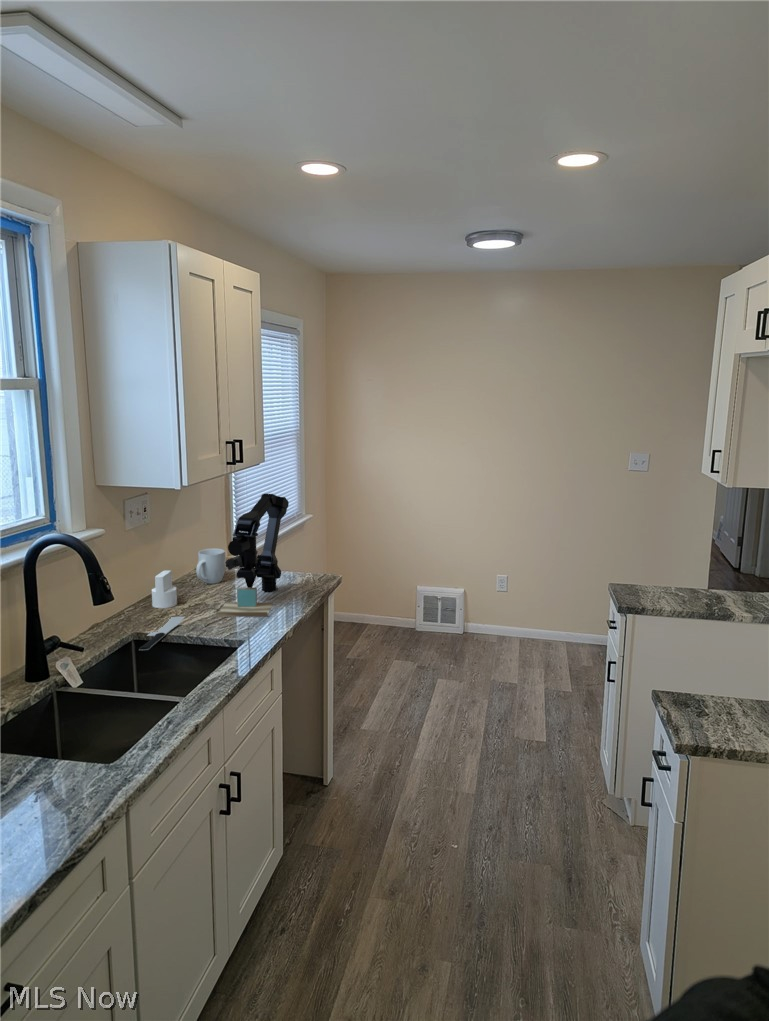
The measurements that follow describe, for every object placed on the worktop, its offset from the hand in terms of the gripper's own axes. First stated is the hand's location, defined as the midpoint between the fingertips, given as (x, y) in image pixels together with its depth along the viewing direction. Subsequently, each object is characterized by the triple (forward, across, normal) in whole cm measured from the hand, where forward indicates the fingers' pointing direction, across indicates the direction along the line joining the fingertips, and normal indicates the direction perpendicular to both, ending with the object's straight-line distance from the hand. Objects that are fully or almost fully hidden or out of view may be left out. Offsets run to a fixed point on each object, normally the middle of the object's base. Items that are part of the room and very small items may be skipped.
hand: (249, 589), depth 259 cm
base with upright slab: (+6, +1, -32) cm, 33 cm away
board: (+6, +9, 0) cm, 10 cm away
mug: (+6, -28, -21) cm, 36 cm away
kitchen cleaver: (+6, +31, -25) cm, 40 cm away
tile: (+4, +6, 0) cm, 7 cm away
